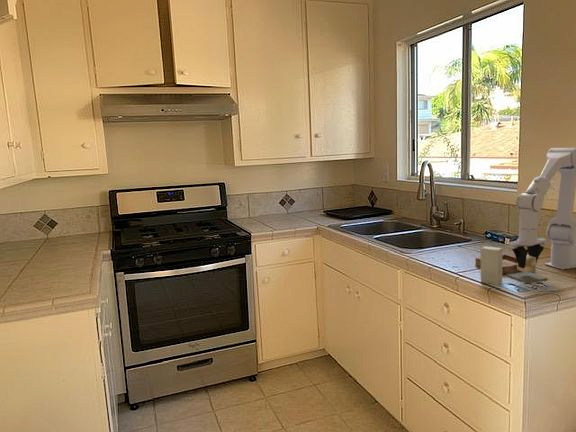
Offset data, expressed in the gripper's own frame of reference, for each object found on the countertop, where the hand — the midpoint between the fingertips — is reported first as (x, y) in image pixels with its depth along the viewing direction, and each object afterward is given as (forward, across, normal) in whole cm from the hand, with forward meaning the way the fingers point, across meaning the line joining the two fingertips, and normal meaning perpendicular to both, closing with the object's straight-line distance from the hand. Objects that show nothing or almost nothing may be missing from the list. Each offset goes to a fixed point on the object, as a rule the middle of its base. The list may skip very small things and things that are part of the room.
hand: (526, 266), depth 157 cm
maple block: (+2, 0, 0) cm, 2 cm away
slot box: (+4, -2, -13) cm, 14 cm away
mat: (+4, 0, 0) cm, 4 cm away
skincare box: (+4, +14, -1) cm, 15 cm away
